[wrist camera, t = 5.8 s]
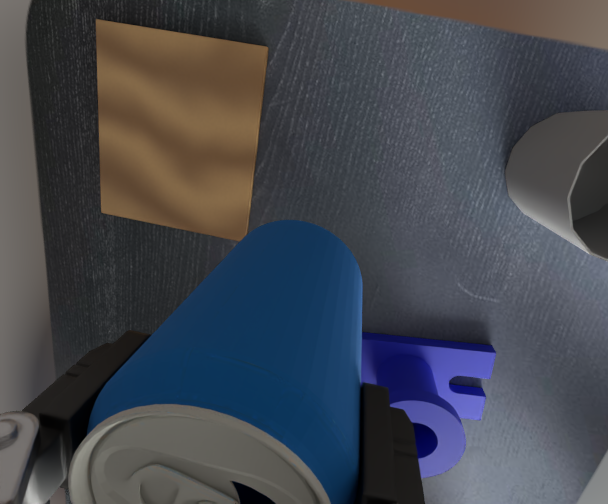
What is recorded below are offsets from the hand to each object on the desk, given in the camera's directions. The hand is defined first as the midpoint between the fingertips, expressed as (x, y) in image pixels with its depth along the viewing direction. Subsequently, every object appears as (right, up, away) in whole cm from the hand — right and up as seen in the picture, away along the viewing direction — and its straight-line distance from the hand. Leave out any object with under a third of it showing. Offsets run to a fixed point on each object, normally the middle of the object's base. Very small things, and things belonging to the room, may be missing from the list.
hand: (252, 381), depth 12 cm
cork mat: (-9, +14, +21) cm, 27 cm away
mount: (+11, -7, +26) cm, 29 cm away
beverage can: (+1, +3, +7) cm, 8 cm away
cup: (+22, +10, +18) cm, 30 cm away
